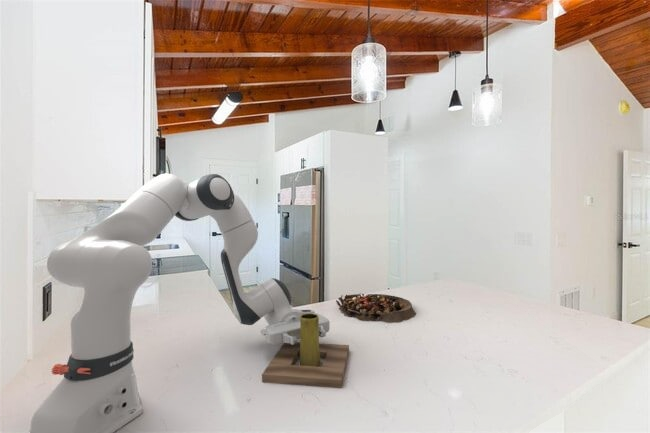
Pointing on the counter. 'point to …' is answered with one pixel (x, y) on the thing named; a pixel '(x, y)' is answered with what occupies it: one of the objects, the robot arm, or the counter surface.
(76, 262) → the robot arm
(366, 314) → the food dish
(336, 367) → the socket
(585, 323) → the counter surface
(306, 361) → the vase
